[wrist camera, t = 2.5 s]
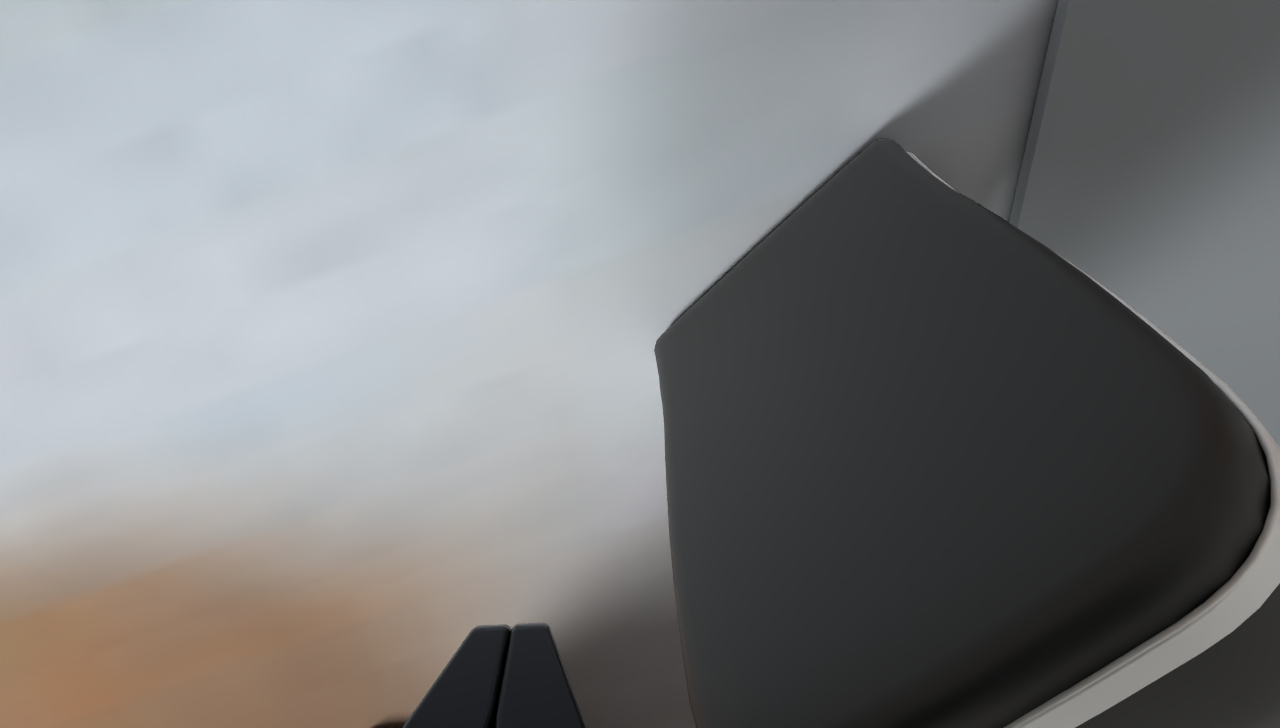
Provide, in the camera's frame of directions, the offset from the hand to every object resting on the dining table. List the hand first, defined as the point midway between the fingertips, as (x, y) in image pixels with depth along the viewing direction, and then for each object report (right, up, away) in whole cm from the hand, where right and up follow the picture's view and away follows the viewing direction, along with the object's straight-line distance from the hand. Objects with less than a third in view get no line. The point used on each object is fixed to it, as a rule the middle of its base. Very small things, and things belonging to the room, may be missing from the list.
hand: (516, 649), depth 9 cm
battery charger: (+5, +5, +9) cm, 11 cm away
